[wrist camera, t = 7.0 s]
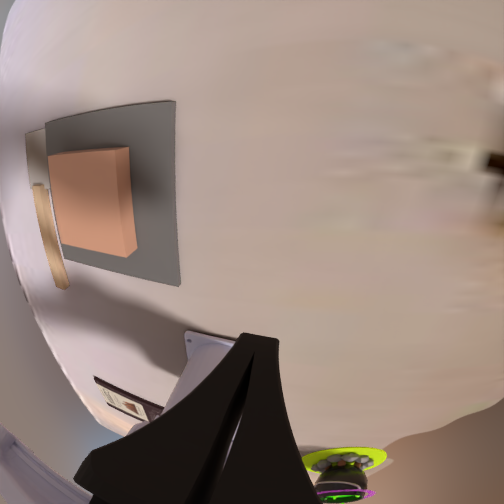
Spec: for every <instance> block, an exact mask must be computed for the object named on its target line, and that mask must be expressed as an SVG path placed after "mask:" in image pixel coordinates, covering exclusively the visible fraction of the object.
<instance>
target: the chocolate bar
mask: <svg viewBox="0 0 504 504" xmlns="http://www.w3.org/2000/svg"><path fill="white" fill-rule="evenodd" d="M94 380H95V382H96V384H97V386H98V388H99V390H100V392H101V393H102V395H103V397H104V399H105V401H106V402H107V404H108V405H109V406H111V407H113V408H115V409H117V410H119V411H121V412H123V413H125V414H127V415H129V416H131V417H134V418H136V419H138V420H140V421H148V422H152V421H153V420H154V419H155V417H156V416H157V415H159V416H161V414H162V412H163V410H164V407H162V406H159V405H157V404H154V403H152V402H149V401H147V400H144V399H142V398H140V397H137V396H135V395H133V394H131V393H128V392H126V391H124V390H122V389H120V388H118V387H115V386H113V385H111V384H109V383H107V382H105V381H103V380H101V379H99V378H98V377H96V376H95V378H94Z"/></svg>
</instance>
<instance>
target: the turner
mask: <svg viewBox="0 0 504 504" xmlns="http://www.w3.org/2000/svg"><path fill="white" fill-rule="evenodd" d="M25 138H26V154H27V165H28V174H29V182H30V189H32V190H33V196H34V202H35V208H36V213H37V218H38V223H39V227H40V232H41V236H42V240H43V244H44V248H45V252H46V255H47V259H48V262H49V266H50V269H51V272H52V275H53V278H54V281H55V284H56V287H58V288H61V289H63V290H65V289H66V288H67V287H68V286H70V285H69V282H68V278H67V275H66V272H65V268H64V265H63V261H62V257H61V253H60V250H59V245H58V241H57V237H56V233H55V228H54V223H53V218H52V213H51V207H50V201H49V195H48V189H50V183H49V175H48V165H47V154H46V136H45V129H41V130H37V131H34V132H30V133H27V134H25Z"/></svg>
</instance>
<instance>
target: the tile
mask: <svg viewBox="0 0 504 504" xmlns="http://www.w3.org/2000/svg"><path fill="white" fill-rule="evenodd" d="M48 165H49V174H50V183H51V190H52V197H53V203H54V209H55V215H56V220H57V225H58V230H59V235H60V239H61V243H62V244H66V245H71V246H75V247H80V248H84V249H88V250H93V251H98V252H102V253H107V254H111V255H116V256H121V257H126V258H127V257H128V256H129V255H130V254H131V253H133V252H134V251H135V250H136V249H137V241H136V233H135V224H134V215H133V204H132V193H131V178H130V159H129V147H114V148H99V149H87V150H77V151H68V152H60V153H57V154H54V155H50V156H48Z"/></svg>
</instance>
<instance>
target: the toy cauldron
mask: <svg viewBox="0 0 504 504" xmlns="http://www.w3.org/2000/svg"><path fill="white" fill-rule="evenodd" d="M386 457H387V454H386V452H385V451H384V450H380V449H376V448H369V447H343V448H333V449H327V450H321V451H317V452H313V453H310V454H307V455H305V456H304V457H302V461H303V463H304V466H305V468H306V470H308V471H311V472H316V473H322V474H321V475H320V476H319V477H318V479H317V481H316V482H315V485H314V488H315V490H316V492H317V494H318V496H319V497H320V499H321V501H322V503H342V504H344V503H347V502H353V501H358V500H361V499H364V498H366V497H364V495H365V492H367V483H368V480H367V477H366V475H365V472H364V470H368V469H370V468H373V467H375V466H377V465H379V464H381V463H382V462H383V461H384V460H385V459H386ZM368 493H369V494H370V495H367V496H369V497H370V496H371V495H374V494H375V492H372V491H371V490H370V491H368ZM371 493H372V494H371Z"/></svg>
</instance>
